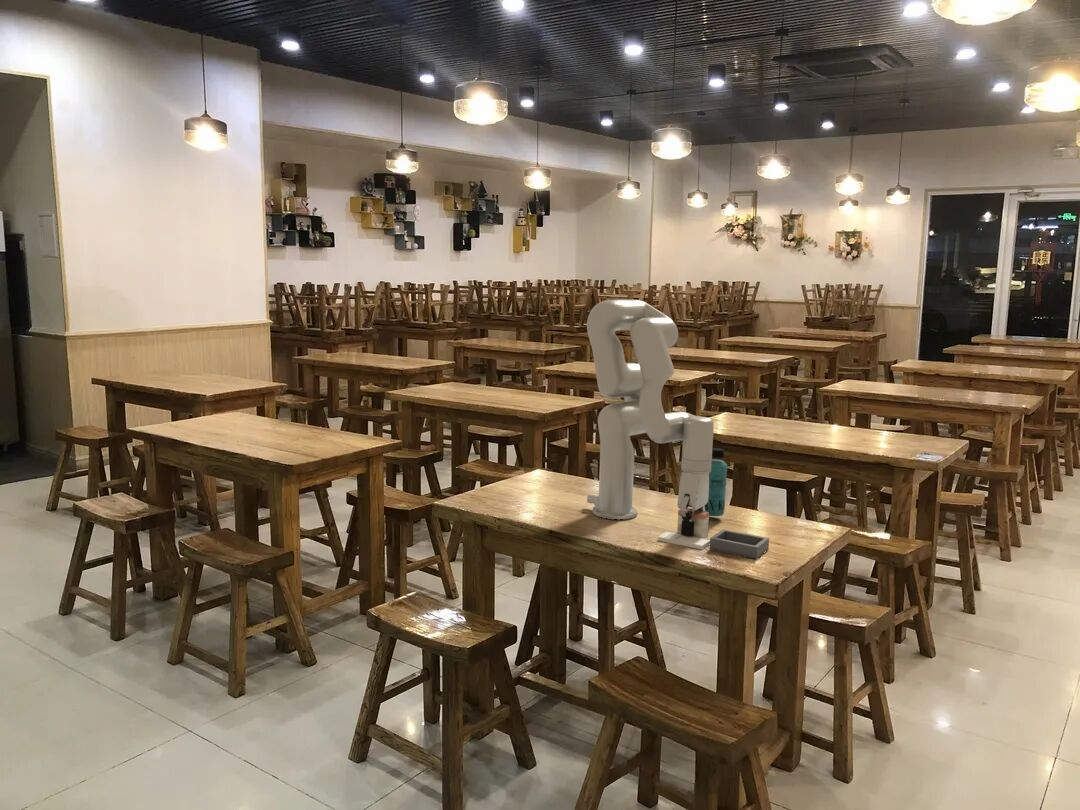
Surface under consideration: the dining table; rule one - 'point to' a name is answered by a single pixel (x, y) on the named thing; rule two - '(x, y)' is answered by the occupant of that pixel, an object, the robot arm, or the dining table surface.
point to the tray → (739, 544)
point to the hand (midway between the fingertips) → (692, 531)
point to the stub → (697, 523)
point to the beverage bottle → (717, 484)
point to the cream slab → (684, 540)
